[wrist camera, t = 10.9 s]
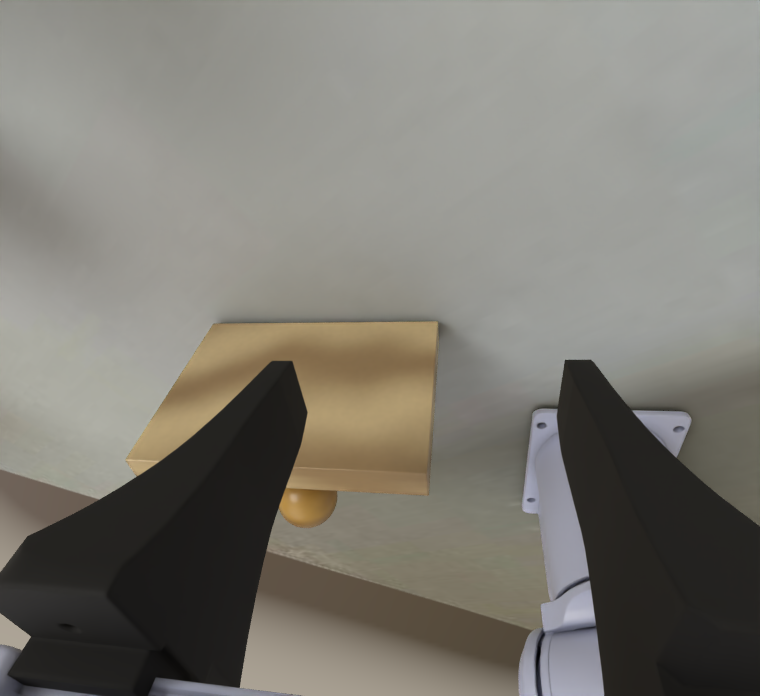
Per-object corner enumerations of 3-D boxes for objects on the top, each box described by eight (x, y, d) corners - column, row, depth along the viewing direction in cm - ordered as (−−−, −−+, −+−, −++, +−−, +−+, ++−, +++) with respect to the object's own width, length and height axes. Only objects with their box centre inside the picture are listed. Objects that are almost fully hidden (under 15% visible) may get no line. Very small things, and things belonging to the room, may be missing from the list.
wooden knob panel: (438, 321, 24) (442, 409, 28) (213, 323, 26) (247, 405, 30) (426, 473, 17) (434, 561, 21) (124, 460, 19) (183, 542, 23)
